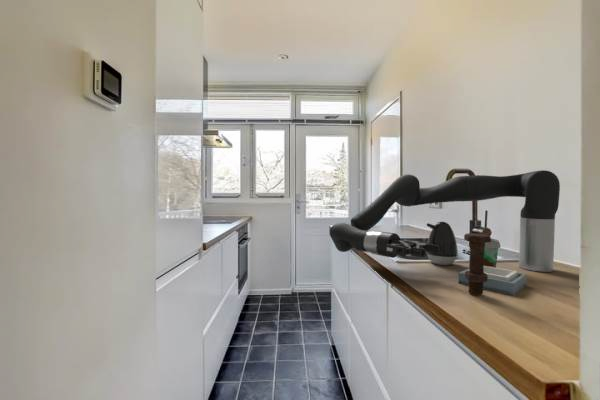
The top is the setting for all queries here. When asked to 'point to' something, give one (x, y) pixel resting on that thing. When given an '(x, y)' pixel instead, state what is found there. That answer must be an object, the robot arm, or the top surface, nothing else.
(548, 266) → the robot arm
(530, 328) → the top surface
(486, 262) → the food container
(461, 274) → the socket tray
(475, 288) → the bolt
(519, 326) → the top surface
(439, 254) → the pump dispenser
